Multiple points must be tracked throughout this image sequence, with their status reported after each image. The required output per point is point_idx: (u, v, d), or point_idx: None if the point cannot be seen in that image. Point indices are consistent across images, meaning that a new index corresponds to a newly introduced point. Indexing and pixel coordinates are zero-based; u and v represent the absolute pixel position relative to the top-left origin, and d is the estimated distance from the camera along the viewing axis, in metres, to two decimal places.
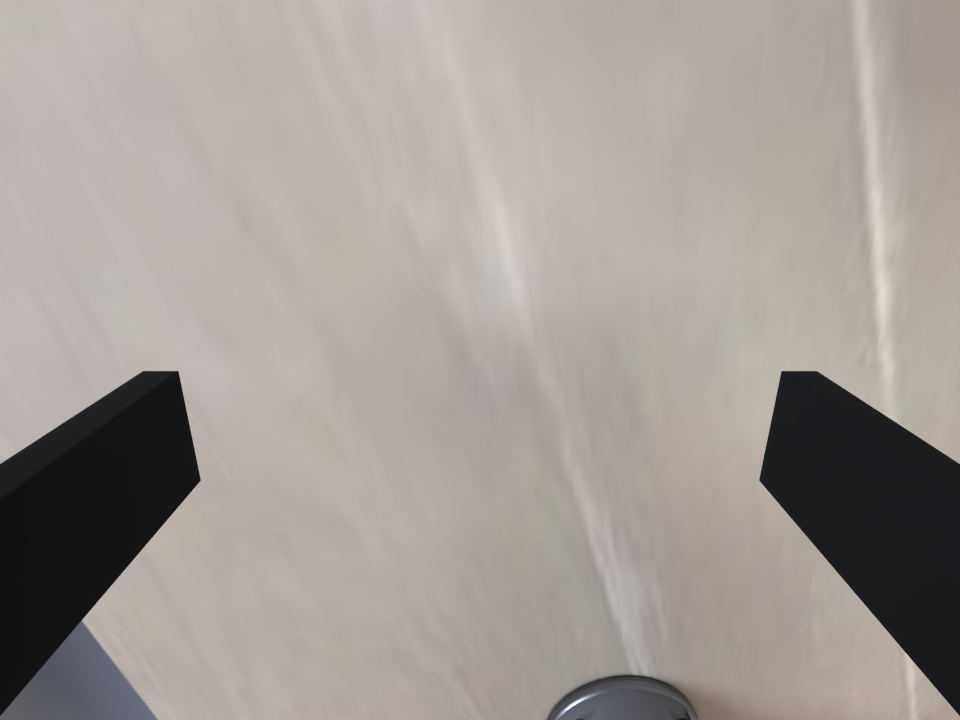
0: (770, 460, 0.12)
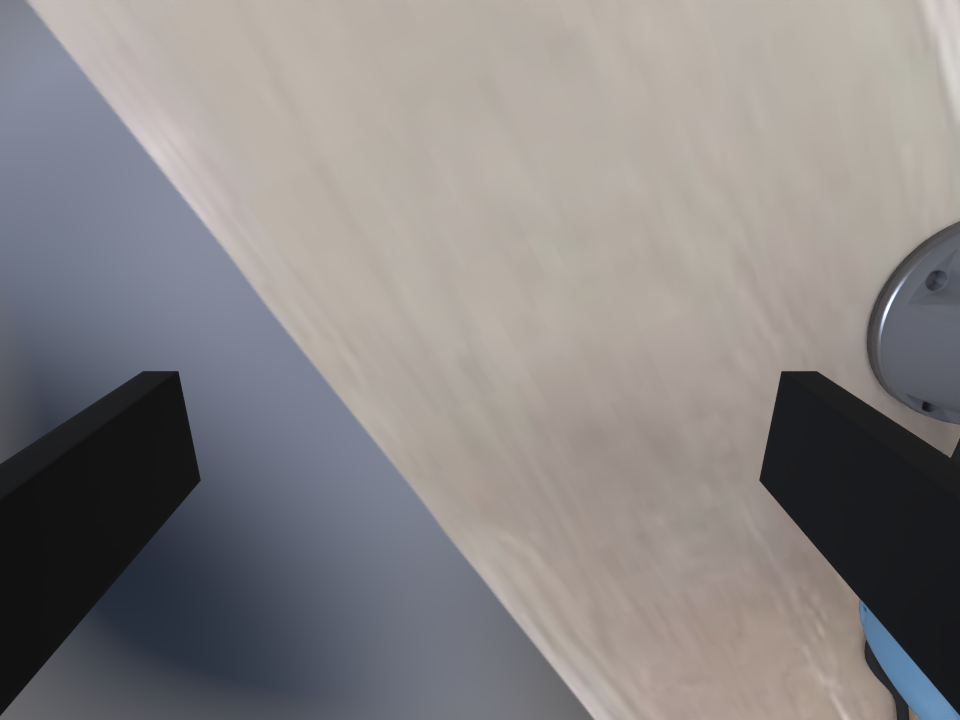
0: (770, 460, 0.12)
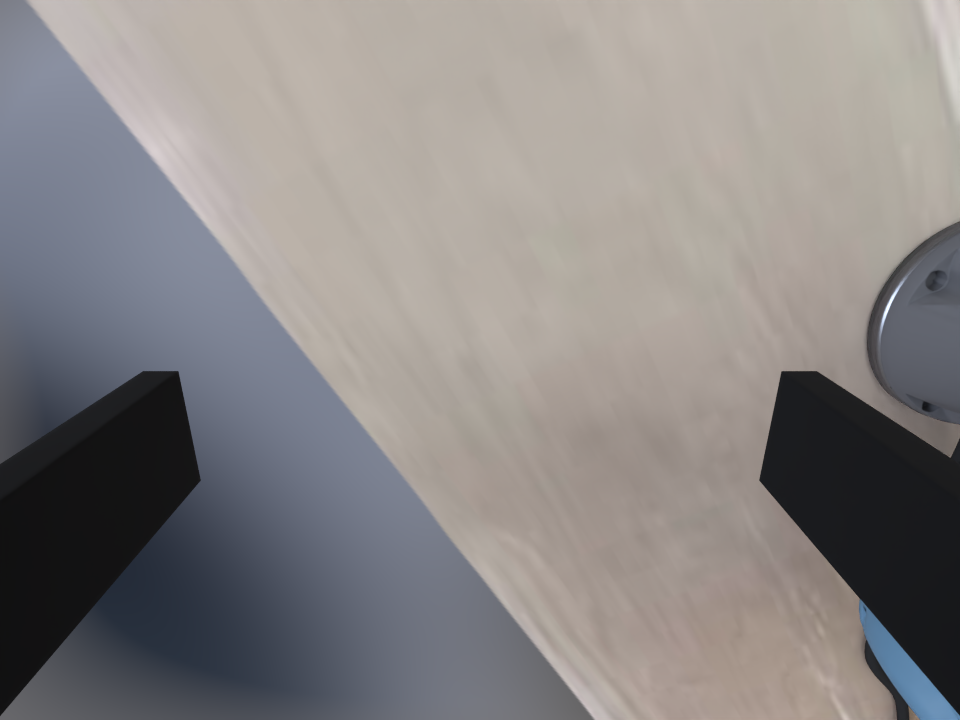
0: (770, 460, 0.12)
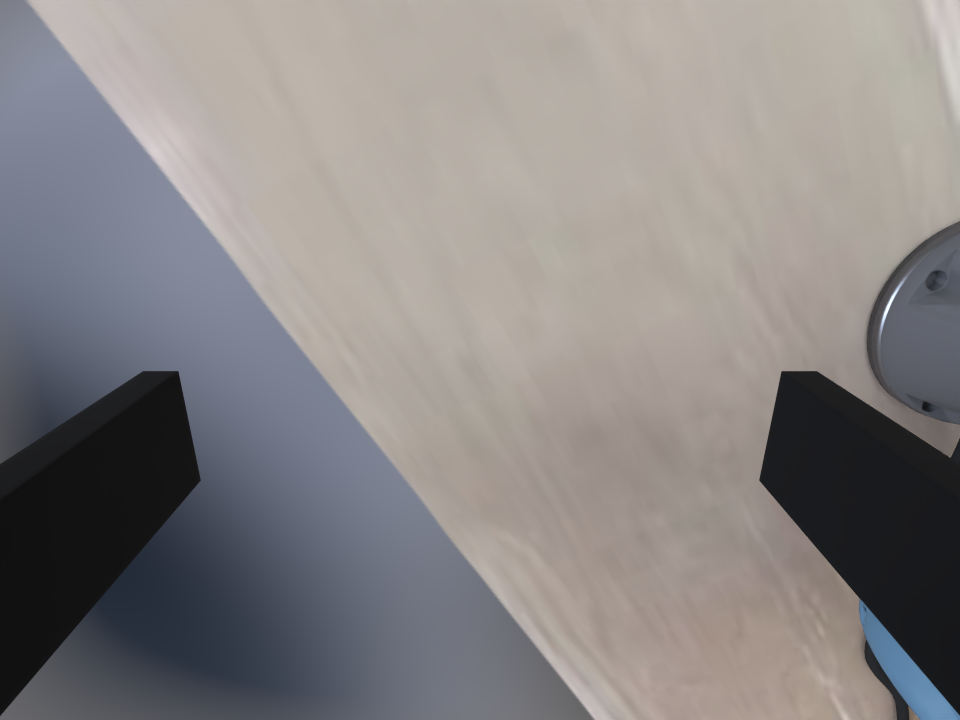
0: (770, 460, 0.12)
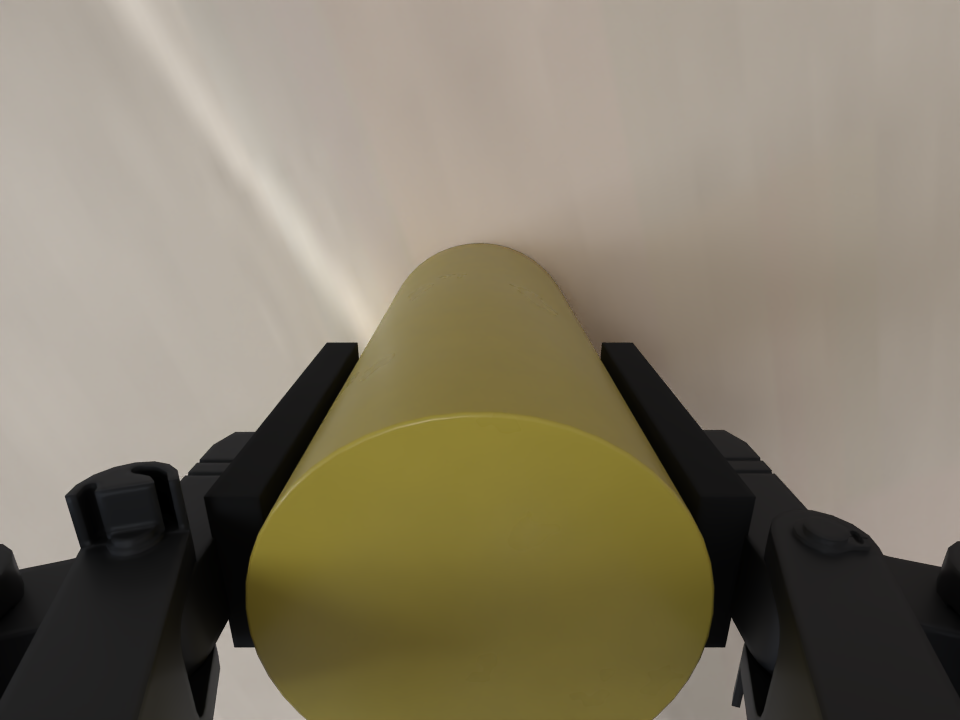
0: None
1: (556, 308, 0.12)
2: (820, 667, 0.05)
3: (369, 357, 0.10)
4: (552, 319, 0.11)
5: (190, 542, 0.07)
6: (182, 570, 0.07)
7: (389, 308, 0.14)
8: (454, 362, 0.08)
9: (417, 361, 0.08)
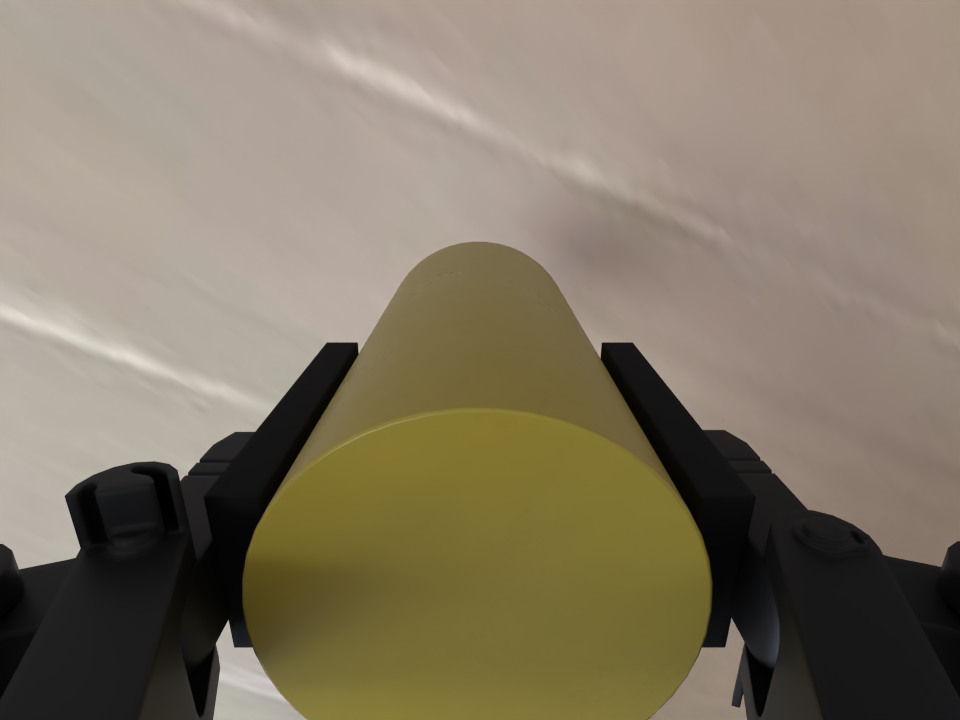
0: None
1: (555, 306, 0.12)
2: (820, 667, 0.05)
3: (367, 354, 0.10)
4: (551, 316, 0.11)
5: (190, 542, 0.07)
6: (182, 570, 0.07)
7: (388, 306, 0.14)
8: (451, 358, 0.08)
9: (414, 357, 0.08)
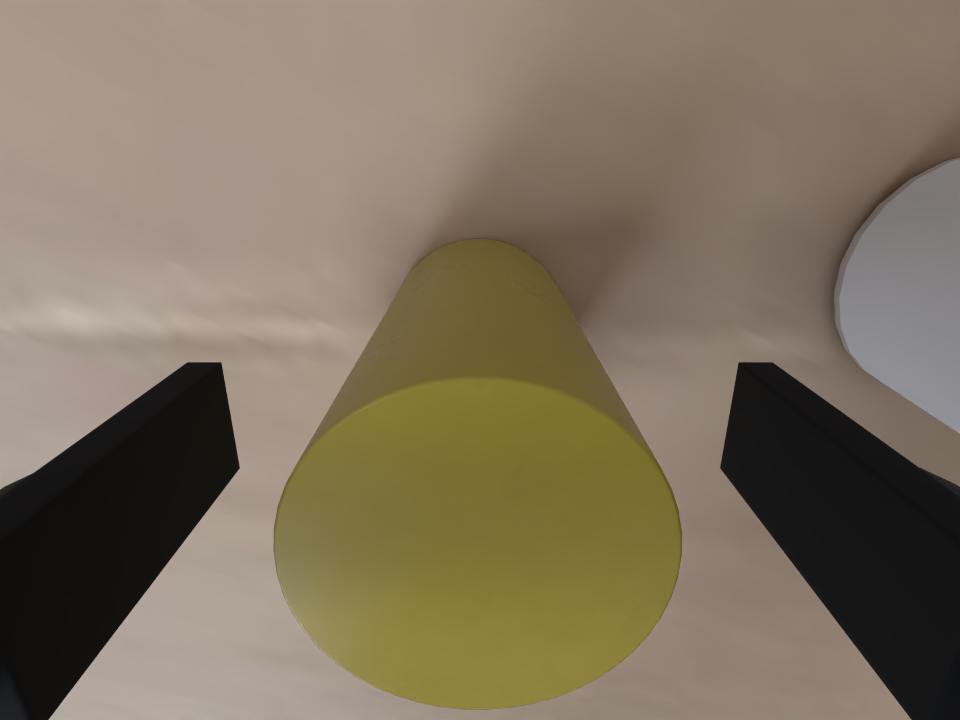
0: (729, 448, 0.13)
1: (549, 297, 0.13)
2: None
3: (378, 338, 0.11)
4: (544, 305, 0.12)
5: None
6: None
7: (394, 298, 0.16)
8: (454, 338, 0.09)
9: (421, 339, 0.09)
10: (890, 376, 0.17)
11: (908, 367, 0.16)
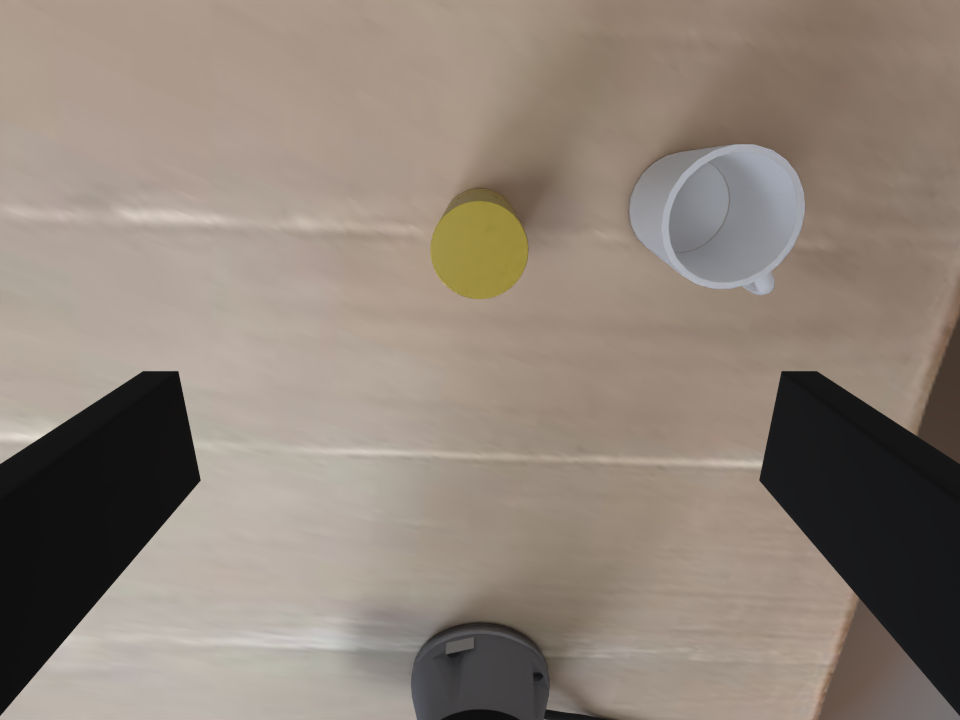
0: (770, 460, 0.12)
1: (503, 201, 0.39)
2: None
3: (450, 207, 0.37)
4: (500, 200, 0.38)
5: None
6: None
7: None
8: (473, 198, 0.34)
9: (465, 200, 0.35)
10: (643, 241, 0.43)
11: (642, 233, 0.42)
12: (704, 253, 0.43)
